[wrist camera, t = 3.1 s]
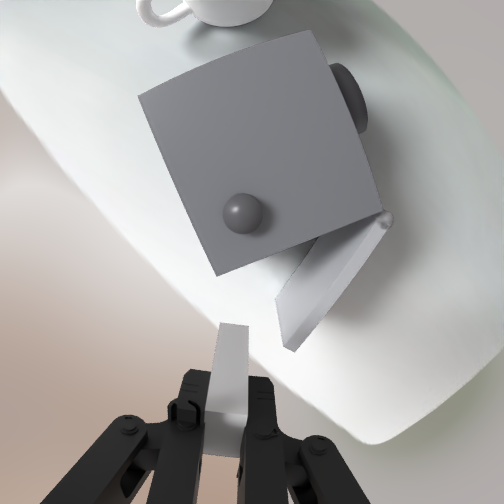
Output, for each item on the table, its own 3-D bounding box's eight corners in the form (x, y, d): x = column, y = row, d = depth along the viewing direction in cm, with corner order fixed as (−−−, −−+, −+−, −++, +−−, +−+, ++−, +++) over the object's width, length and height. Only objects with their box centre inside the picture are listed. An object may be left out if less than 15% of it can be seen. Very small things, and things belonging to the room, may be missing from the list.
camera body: (172, 115, 24) (133, 93, 15) (314, 61, 23) (346, 16, 14) (227, 241, 28) (216, 283, 18) (365, 187, 26) (419, 202, 17)
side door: (274, 298, 29) (282, 345, 21) (347, 193, 26) (383, 207, 19) (289, 307, 29) (301, 355, 22) (361, 204, 27) (401, 222, 19)
